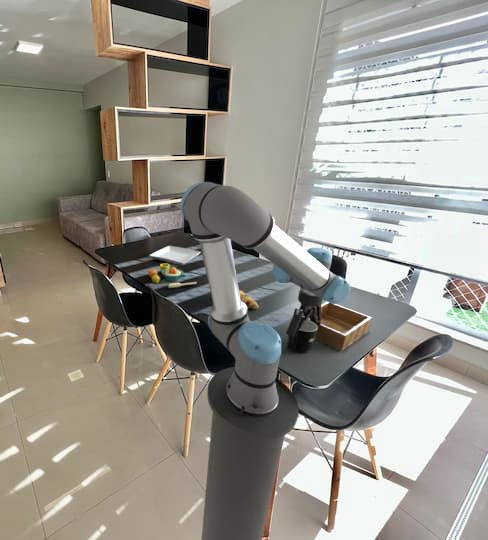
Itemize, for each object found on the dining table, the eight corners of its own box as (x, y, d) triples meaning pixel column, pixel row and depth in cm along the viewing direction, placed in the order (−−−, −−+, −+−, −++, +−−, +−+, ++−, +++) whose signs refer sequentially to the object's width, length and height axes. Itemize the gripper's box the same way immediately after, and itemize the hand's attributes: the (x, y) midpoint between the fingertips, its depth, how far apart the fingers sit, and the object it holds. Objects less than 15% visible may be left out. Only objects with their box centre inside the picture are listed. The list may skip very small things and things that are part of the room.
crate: (341, 351, 105) (345, 336, 102) (297, 330, 118) (300, 315, 116) (367, 332, 116) (372, 317, 114) (324, 314, 129) (328, 301, 127)
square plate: (148, 260, 200) (148, 254, 198) (169, 249, 221) (169, 245, 219) (182, 267, 185) (183, 262, 184) (201, 256, 206) (201, 250, 205)
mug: (307, 358, 102) (313, 334, 98) (281, 348, 107) (286, 324, 104) (317, 343, 110) (323, 320, 106) (293, 334, 115) (297, 312, 112)
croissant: (259, 314, 136) (265, 299, 136) (252, 313, 129) (258, 296, 128) (221, 299, 150) (226, 285, 150) (212, 297, 142) (217, 282, 142)
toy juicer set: (141, 277, 172) (141, 265, 169) (165, 270, 182) (165, 258, 179) (172, 294, 150) (172, 280, 147) (197, 285, 160) (198, 272, 157)
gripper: (318, 280, 109) (308, 328, 117) (281, 297, 97) (272, 350, 105) (339, 287, 103) (327, 337, 111) (302, 306, 91) (291, 361, 99)
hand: (300, 343), depth 108 cm, fingers closed on mug, 12 cm apart
